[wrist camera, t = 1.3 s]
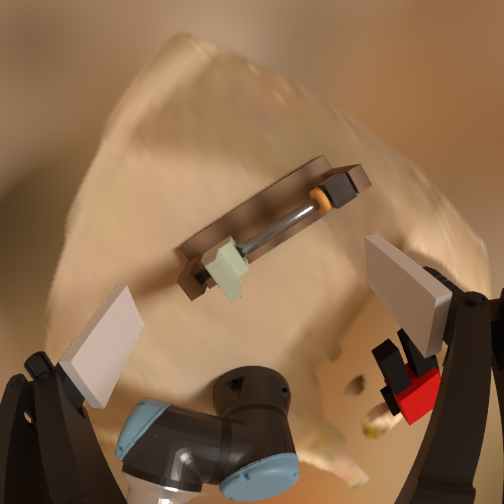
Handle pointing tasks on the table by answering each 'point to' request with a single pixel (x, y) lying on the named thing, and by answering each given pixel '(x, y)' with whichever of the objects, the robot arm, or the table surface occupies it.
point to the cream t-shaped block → (226, 267)
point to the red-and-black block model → (408, 378)
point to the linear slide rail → (263, 217)
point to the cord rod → (295, 217)
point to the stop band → (321, 200)
